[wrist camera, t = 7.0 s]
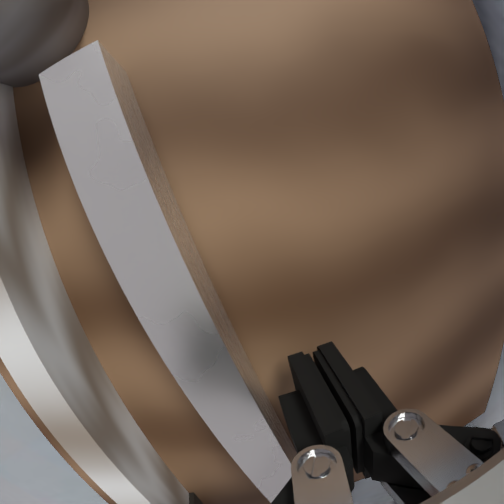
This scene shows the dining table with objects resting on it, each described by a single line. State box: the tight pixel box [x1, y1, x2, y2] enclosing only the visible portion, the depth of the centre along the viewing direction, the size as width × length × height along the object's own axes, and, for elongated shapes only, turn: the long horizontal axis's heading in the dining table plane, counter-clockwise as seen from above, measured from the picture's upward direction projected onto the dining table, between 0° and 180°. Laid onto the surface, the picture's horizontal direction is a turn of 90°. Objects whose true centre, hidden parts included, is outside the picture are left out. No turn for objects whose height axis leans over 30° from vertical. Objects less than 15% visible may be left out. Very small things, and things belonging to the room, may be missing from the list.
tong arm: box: [39, 40, 297, 503], centre depth 10 cm, size 22×2×3 cm, turn 21°
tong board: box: [0, 0, 504, 504], centre depth 10 cm, size 30×26×5 cm
